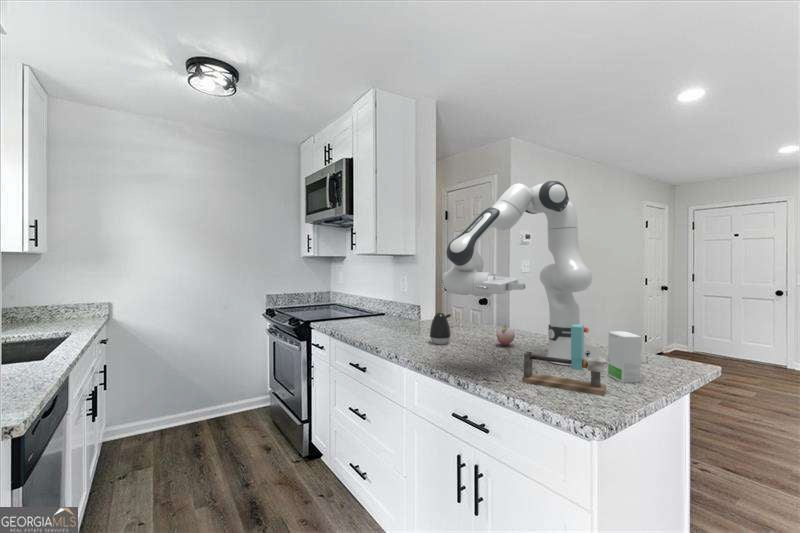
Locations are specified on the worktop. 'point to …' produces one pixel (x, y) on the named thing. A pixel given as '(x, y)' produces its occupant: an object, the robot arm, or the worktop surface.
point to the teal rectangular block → (577, 346)
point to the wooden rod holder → (565, 383)
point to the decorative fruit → (505, 335)
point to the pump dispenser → (440, 329)
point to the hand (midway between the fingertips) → (524, 286)
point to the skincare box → (624, 356)
